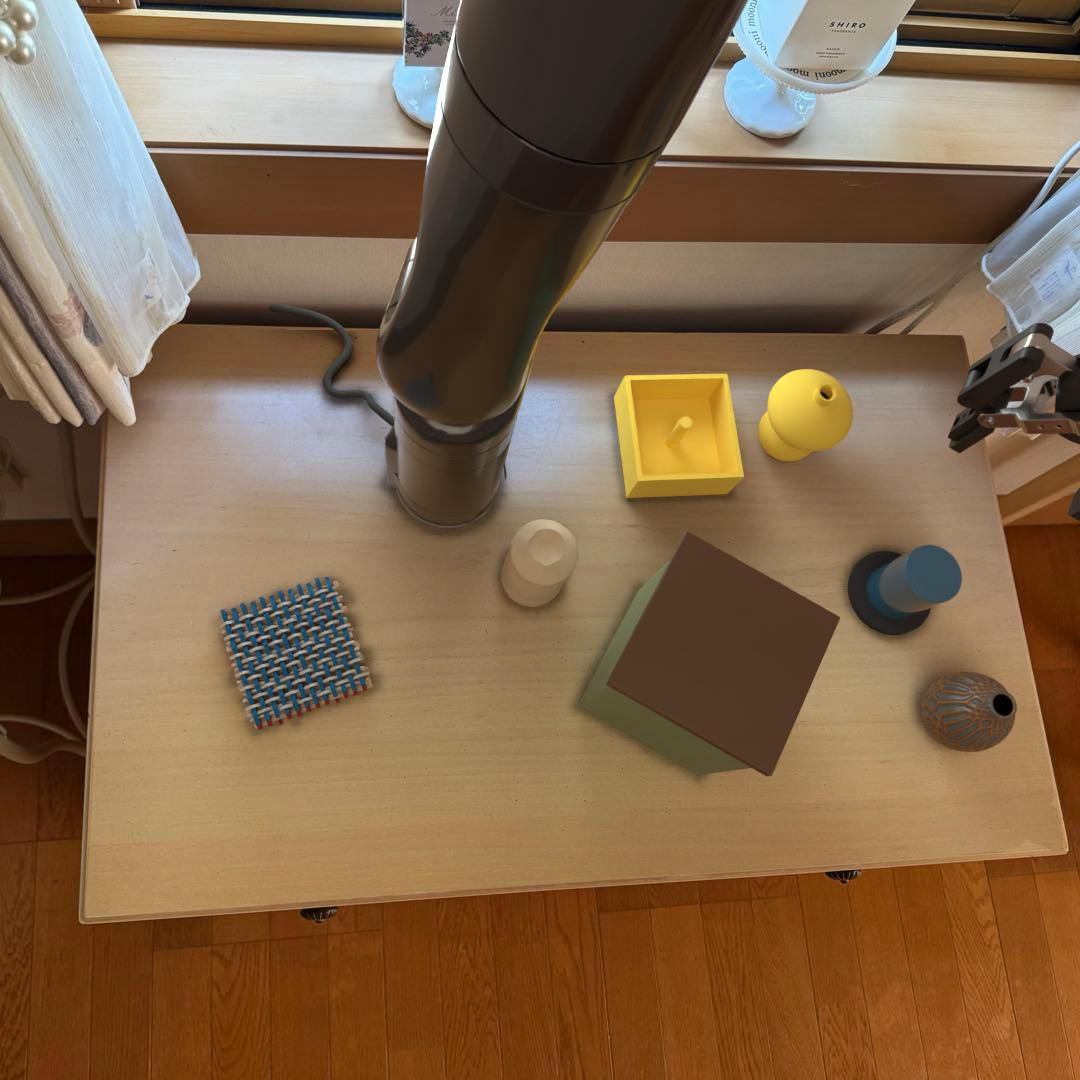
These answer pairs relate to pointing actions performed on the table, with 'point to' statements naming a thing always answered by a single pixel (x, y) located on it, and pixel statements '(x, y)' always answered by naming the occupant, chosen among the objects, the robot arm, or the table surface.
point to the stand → (711, 662)
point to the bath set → (718, 429)
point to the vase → (968, 711)
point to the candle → (538, 562)
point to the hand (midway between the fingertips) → (1016, 472)
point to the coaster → (865, 608)
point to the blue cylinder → (914, 582)
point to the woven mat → (293, 653)
